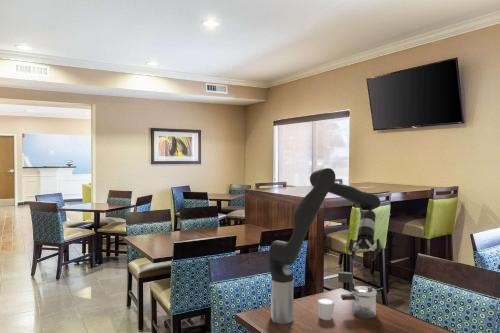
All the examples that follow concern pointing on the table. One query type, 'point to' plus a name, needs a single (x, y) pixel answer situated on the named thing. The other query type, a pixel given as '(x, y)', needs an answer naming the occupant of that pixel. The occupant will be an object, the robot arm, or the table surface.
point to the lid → (356, 290)
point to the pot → (362, 305)
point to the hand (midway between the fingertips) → (362, 259)
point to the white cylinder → (325, 308)
